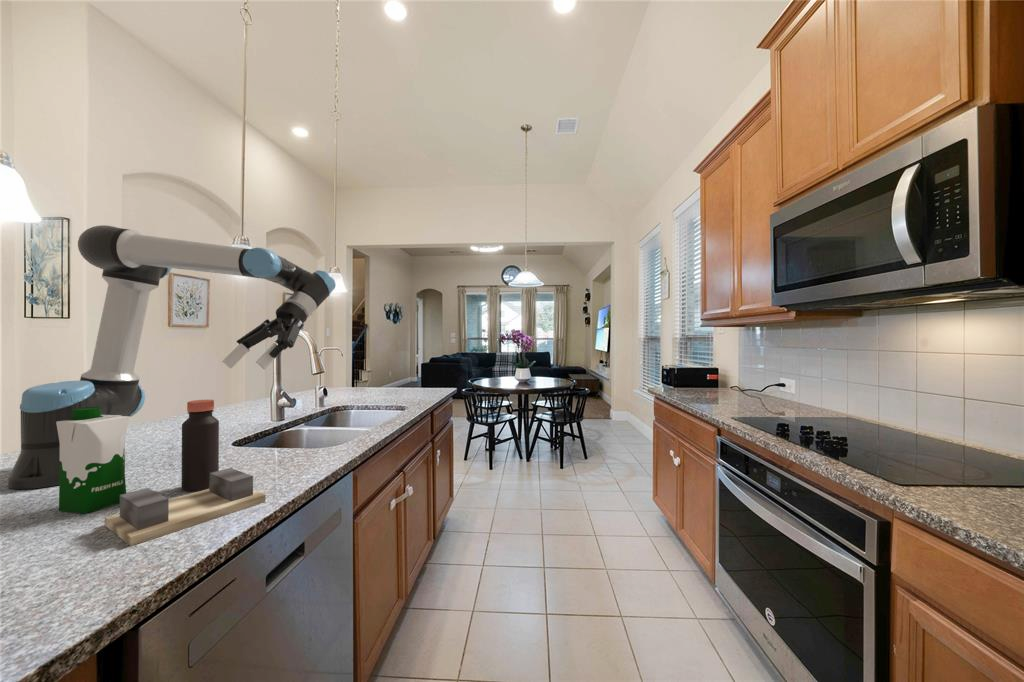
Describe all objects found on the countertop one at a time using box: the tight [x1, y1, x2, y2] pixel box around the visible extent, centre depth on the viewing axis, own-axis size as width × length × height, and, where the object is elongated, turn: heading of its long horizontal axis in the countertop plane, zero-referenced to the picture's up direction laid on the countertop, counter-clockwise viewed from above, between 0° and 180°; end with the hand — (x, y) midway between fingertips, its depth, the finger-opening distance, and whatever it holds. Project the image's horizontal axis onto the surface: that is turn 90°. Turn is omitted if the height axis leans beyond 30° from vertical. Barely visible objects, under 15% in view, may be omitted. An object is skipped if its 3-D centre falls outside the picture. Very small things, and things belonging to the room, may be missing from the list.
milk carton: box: [56, 407, 131, 515], centre depth 80 cm, size 9×9×20 cm
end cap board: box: [104, 467, 267, 547], centre depth 77 cm, size 14×21×6 cm, turn 149°
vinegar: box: [181, 399, 220, 492], centre depth 90 cm, size 7×7×20 cm
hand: (243, 365), depth 99 cm, fingers open, 13 cm apart
